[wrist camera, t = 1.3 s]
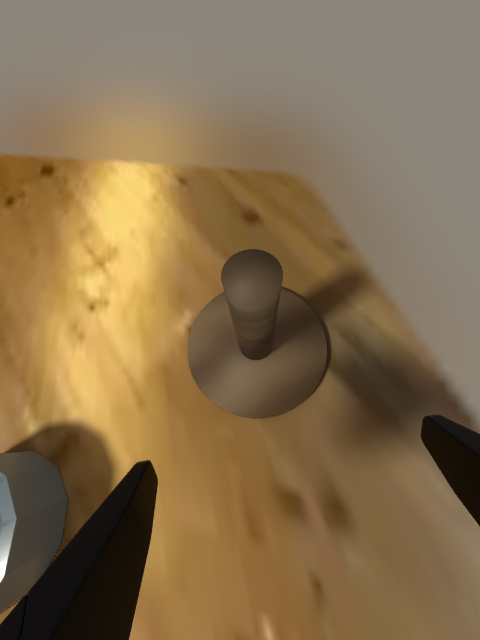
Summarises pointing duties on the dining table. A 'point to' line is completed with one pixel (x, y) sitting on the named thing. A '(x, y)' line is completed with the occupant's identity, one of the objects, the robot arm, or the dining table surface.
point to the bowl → (28, 521)
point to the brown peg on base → (256, 341)
